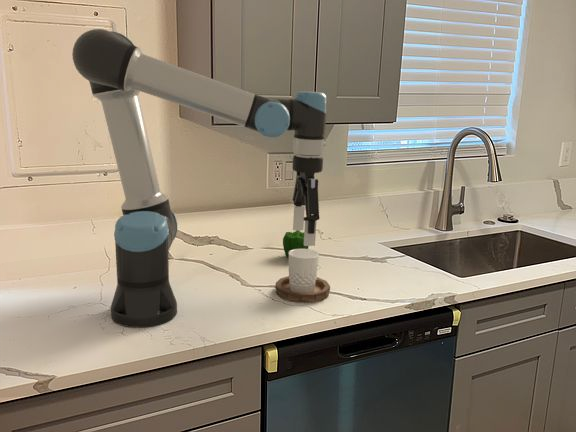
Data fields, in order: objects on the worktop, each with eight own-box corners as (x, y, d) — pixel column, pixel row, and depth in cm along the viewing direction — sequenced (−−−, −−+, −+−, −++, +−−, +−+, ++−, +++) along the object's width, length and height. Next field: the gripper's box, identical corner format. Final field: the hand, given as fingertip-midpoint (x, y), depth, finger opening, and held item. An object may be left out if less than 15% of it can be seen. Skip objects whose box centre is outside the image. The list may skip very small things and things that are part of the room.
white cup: (314, 296, 145) (316, 259, 142) (284, 293, 146) (285, 256, 144) (319, 285, 152) (320, 250, 150) (290, 282, 154) (291, 247, 151)
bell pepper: (291, 263, 171) (292, 232, 169) (278, 255, 178) (279, 225, 175) (314, 260, 175) (316, 229, 173) (301, 252, 182) (302, 222, 180)
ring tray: (280, 304, 141) (281, 296, 141) (272, 283, 155) (272, 276, 154) (335, 301, 144) (335, 293, 143) (321, 281, 157) (322, 274, 157)
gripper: (336, 164, 129) (329, 252, 134) (311, 148, 153) (307, 224, 158) (304, 163, 128) (298, 252, 133) (284, 148, 151) (280, 224, 156)
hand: (303, 237), depth 145 cm, fingers open, 13 cm apart
